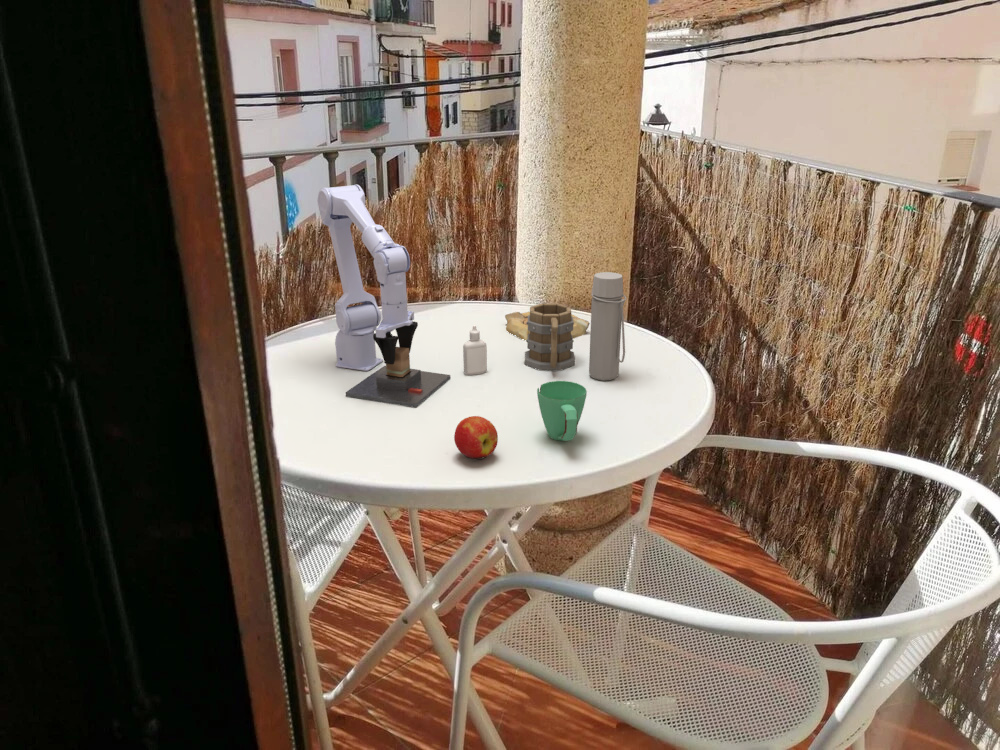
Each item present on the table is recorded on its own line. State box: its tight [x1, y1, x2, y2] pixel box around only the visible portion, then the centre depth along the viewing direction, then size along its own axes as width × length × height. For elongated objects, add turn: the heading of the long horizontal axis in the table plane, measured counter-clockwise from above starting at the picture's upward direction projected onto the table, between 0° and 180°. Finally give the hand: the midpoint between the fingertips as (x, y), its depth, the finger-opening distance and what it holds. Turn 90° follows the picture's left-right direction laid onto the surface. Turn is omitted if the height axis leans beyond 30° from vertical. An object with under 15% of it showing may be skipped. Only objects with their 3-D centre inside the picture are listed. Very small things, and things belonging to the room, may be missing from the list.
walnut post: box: [385, 346, 411, 377], centre depth 176 cm, size 4×4×6 cm
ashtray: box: [504, 311, 591, 341], centre depth 217 cm, size 24×24×5 cm
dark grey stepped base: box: [345, 365, 451, 409], centre depth 178 cm, size 18×18×4 cm
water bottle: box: [588, 271, 627, 382], centre depth 179 cm, size 9×8×25 cm
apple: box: [453, 415, 499, 460], centre depth 145 cm, size 8×8×8 cm
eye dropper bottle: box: [462, 325, 488, 376], centre depth 185 cm, size 4×6×12 cm
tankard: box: [524, 302, 576, 371], centre depth 188 cm, size 20×13×15 cm, turn 178°
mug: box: [536, 380, 588, 442], centre depth 151 cm, size 15×10×10 cm
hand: (397, 357), depth 176 cm, fingers open, 7 cm apart
